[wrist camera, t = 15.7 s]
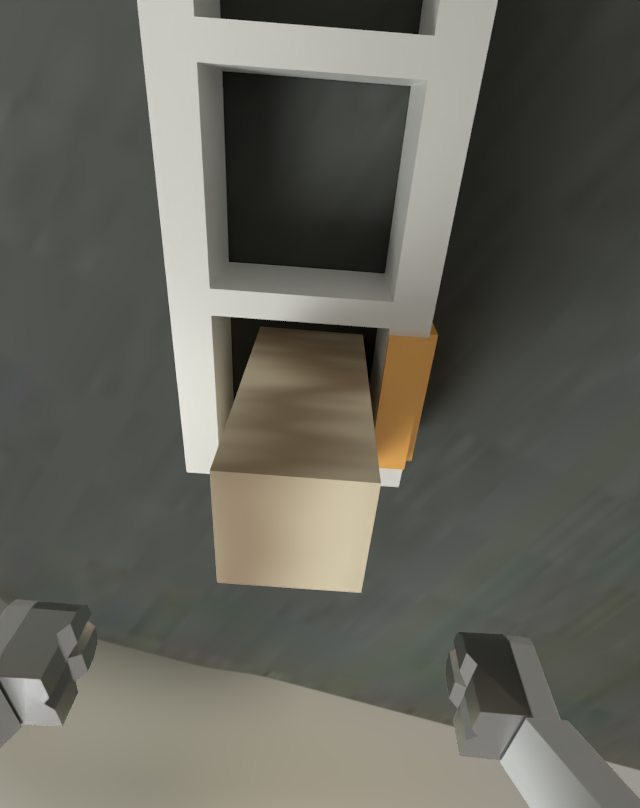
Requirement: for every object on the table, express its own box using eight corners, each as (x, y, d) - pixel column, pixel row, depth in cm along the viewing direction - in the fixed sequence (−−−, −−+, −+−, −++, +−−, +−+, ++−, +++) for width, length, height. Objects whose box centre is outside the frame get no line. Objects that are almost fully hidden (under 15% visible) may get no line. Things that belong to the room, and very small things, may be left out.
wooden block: (362, 334, 21) (381, 483, 13) (351, 419, 24) (360, 592, 15) (260, 326, 21) (209, 470, 13) (259, 412, 24) (217, 582, 15)
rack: (543, -316, 12) (621, -477, 9) (398, 441, 24) (408, 492, 21) (147, -351, 12) (76, -526, 9) (205, 427, 24) (185, 476, 21)
